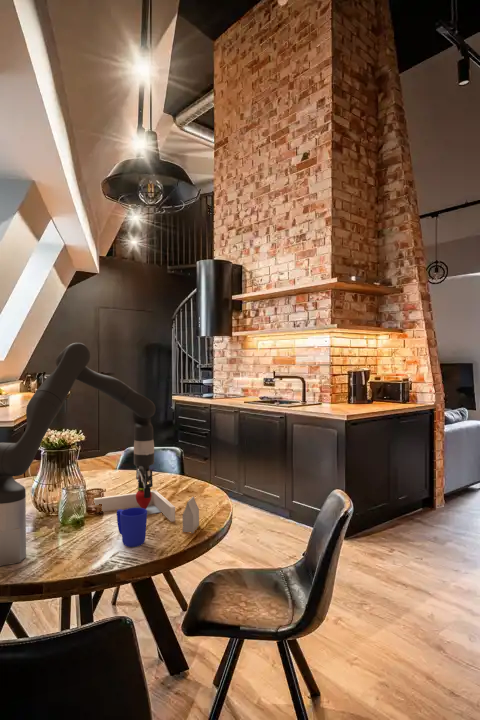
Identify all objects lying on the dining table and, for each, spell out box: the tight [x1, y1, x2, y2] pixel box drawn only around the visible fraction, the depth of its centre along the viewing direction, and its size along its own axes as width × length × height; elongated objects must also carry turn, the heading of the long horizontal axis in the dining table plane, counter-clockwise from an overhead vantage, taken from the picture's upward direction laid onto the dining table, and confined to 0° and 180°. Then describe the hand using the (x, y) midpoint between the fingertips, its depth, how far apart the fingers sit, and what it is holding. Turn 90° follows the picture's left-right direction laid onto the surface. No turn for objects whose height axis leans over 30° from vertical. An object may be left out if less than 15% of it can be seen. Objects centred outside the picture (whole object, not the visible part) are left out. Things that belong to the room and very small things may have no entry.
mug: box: [116, 507, 148, 548], centre depth 146 cm, size 8×12×10 cm
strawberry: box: [135, 484, 152, 509], centre depth 176 cm, size 6×8×10 cm
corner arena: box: [93, 489, 176, 523], centre depth 171 cm, size 24×24×5 cm
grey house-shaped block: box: [182, 496, 200, 534], centre depth 157 cm, size 4×7×10 cm, turn 169°
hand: (144, 494), depth 176 cm, fingers open, 8 cm apart
